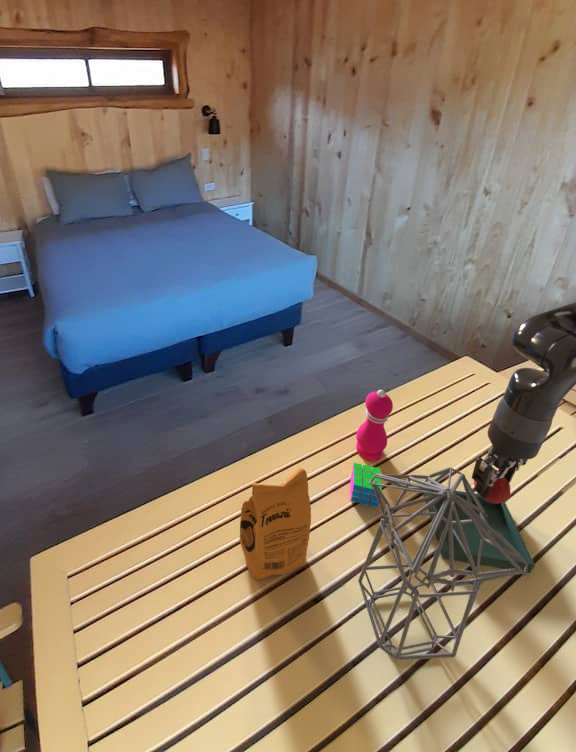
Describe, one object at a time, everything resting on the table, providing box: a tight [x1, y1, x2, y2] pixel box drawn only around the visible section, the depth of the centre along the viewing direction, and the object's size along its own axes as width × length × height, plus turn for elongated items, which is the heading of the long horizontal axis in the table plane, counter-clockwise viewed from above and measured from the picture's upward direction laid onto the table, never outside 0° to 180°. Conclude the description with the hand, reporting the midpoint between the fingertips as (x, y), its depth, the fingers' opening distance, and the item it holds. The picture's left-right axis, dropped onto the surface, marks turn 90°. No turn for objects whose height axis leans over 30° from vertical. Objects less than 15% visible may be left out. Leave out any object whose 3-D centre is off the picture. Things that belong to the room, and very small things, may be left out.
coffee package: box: [239, 467, 312, 581], centre depth 76 cm, size 10×12×22 cm
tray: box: [422, 490, 536, 574], centre depth 83 cm, size 16×14×3 cm
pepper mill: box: [355, 389, 394, 462], centre depth 97 cm, size 7×7×20 cm
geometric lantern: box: [357, 466, 528, 662], centre depth 62 cm, size 16×16×35 cm
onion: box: [473, 467, 511, 504], centre depth 77 cm, size 6×6×8 cm
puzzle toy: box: [350, 462, 383, 509], centre depth 90 cm, size 6×6×6 cm
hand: (491, 486), depth 77 cm, fingers closed on onion, 6 cm apart
